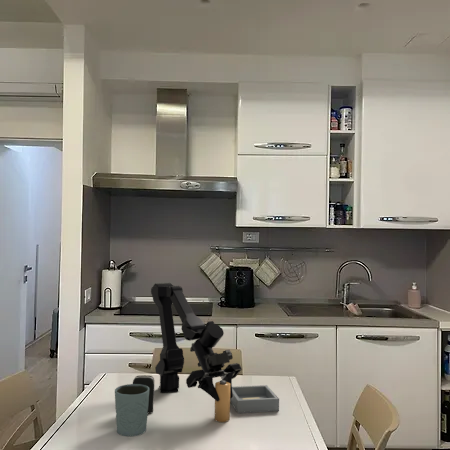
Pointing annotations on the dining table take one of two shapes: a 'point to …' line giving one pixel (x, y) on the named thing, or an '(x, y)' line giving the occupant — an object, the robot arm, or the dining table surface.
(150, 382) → the battery charger
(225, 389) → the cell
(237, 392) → the gray square tray
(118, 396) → the green cup
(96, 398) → the dining table surface
